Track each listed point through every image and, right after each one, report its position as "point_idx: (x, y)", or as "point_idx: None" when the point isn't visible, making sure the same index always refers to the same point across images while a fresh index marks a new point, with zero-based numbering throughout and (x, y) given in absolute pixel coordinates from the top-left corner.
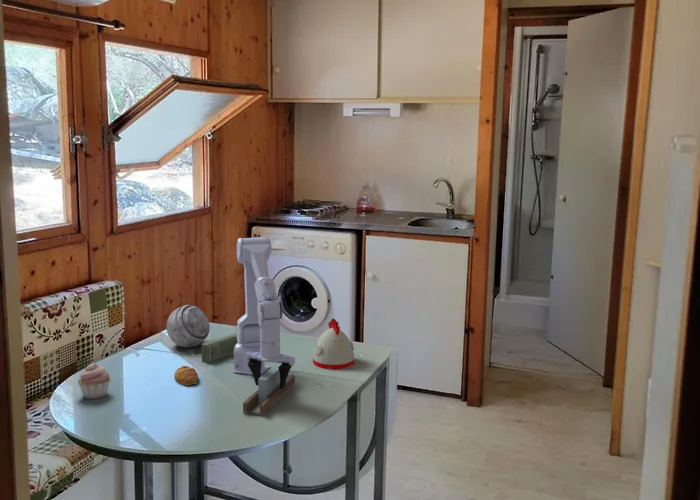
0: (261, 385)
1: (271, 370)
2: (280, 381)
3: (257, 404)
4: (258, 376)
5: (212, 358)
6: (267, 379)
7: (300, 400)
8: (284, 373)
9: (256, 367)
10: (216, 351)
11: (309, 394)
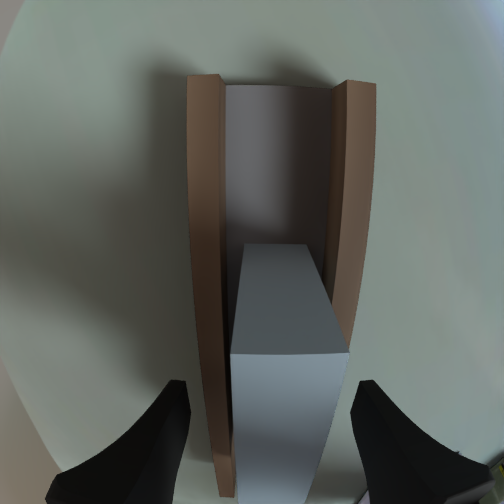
0: (296, 311)
1: (282, 500)
2: (165, 414)
3: (300, 210)
4: (372, 436)
5: (502, 466)
6: (232, 377)
7: (113, 353)
8: (93, 459)
9: (407, 489)
10: (497, 484)
11: (118, 408)
